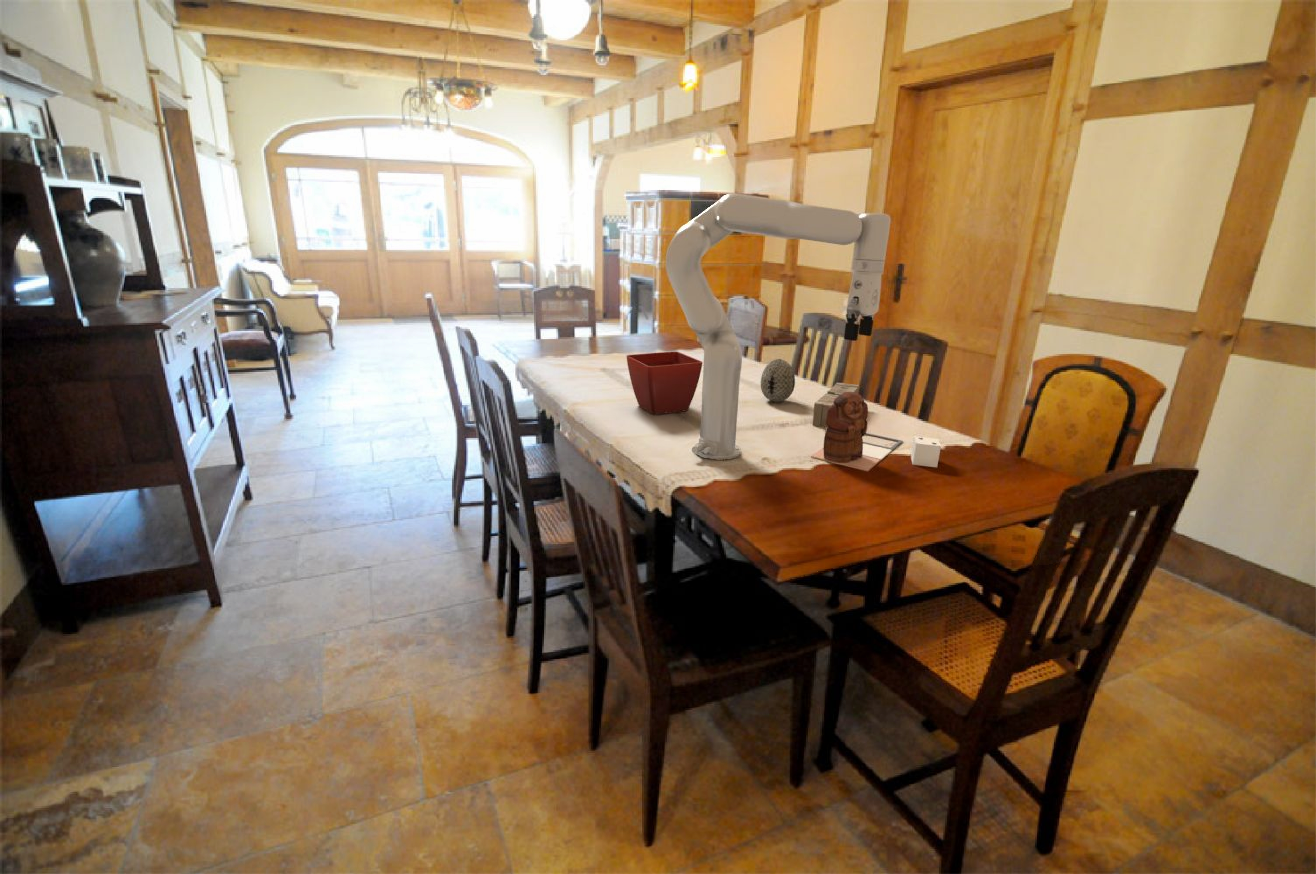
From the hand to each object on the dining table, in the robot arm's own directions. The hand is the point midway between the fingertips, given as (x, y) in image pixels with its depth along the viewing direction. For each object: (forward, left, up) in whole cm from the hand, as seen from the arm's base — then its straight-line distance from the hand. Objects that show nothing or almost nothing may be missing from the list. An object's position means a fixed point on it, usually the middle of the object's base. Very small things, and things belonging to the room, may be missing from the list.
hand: (857, 337), depth 158 cm
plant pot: (+6, +64, -33) cm, 72 cm away
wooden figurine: (0, -1, -32) cm, 32 cm away
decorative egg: (+39, +39, -33) cm, 64 cm away
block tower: (+37, +16, -33) cm, 52 cm away
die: (+12, -18, -33) cm, 39 cm away
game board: (+10, -1, -33) cm, 34 cm away
